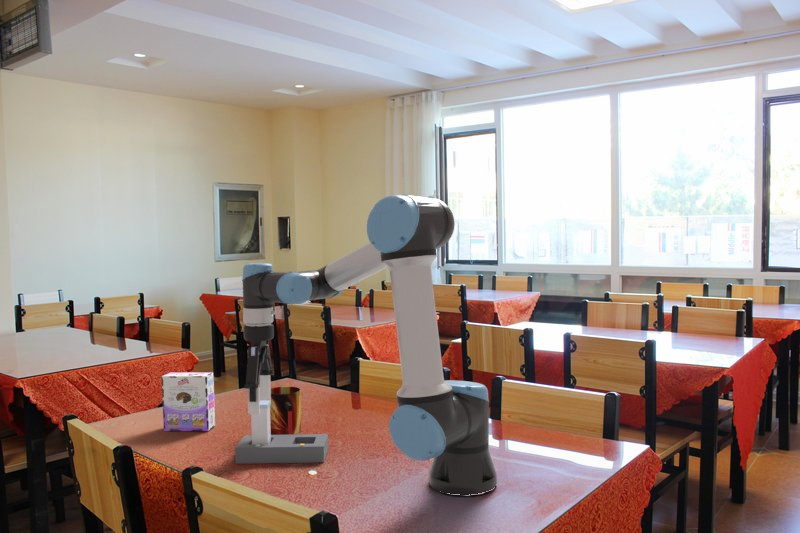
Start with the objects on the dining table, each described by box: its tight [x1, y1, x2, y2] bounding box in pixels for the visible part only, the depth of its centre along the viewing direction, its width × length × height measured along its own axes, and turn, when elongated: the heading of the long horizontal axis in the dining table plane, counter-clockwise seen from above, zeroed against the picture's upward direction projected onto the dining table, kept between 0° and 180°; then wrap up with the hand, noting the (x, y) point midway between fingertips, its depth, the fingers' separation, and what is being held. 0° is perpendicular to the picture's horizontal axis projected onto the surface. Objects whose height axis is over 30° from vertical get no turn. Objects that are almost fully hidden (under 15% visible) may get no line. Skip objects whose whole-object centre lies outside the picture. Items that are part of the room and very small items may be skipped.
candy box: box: [161, 371, 216, 432], centre depth 188 cm, size 14×6×16 cm, turn 84°
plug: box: [250, 400, 271, 445], centre depth 163 cm, size 4×4×14 cm
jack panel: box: [234, 433, 329, 464], centre depth 163 cm, size 10×22×4 cm, turn 90°
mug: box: [270, 386, 302, 435], centre depth 183 cm, size 10×14×12 cm
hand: (259, 406), depth 163 cm, fingers open, 13 cm apart
